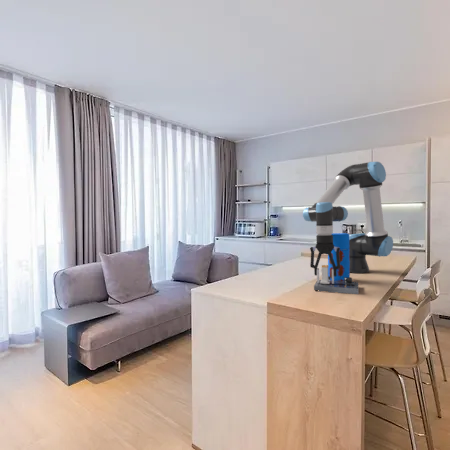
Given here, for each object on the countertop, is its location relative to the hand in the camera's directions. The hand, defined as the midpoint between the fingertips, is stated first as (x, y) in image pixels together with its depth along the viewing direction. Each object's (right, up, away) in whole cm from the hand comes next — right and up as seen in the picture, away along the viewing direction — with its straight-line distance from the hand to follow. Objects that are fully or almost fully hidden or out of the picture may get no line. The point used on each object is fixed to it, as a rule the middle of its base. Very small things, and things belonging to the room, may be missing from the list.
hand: (325, 282), depth 145 cm
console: (+5, -3, -1) cm, 6 cm away
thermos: (+13, -2, +17) cm, 22 cm away
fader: (0, 0, 0) cm, 0 cm away
